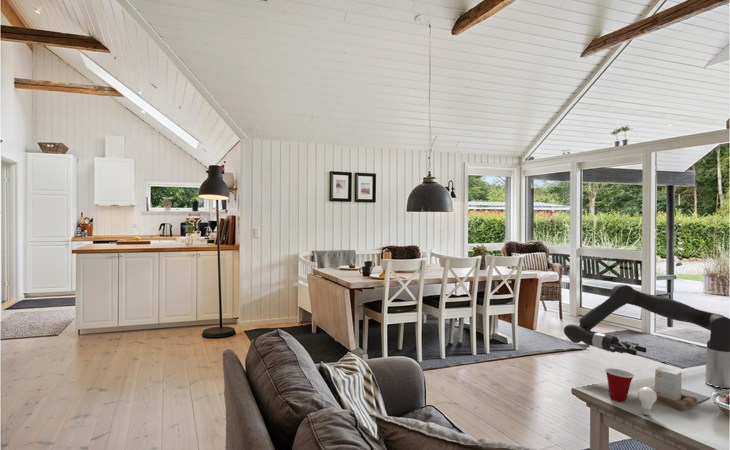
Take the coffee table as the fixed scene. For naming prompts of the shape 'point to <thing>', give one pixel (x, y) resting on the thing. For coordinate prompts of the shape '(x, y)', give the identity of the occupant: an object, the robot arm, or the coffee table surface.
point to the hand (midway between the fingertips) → (641, 351)
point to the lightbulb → (647, 399)
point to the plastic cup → (618, 383)
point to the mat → (695, 395)
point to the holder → (678, 405)
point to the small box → (668, 383)
